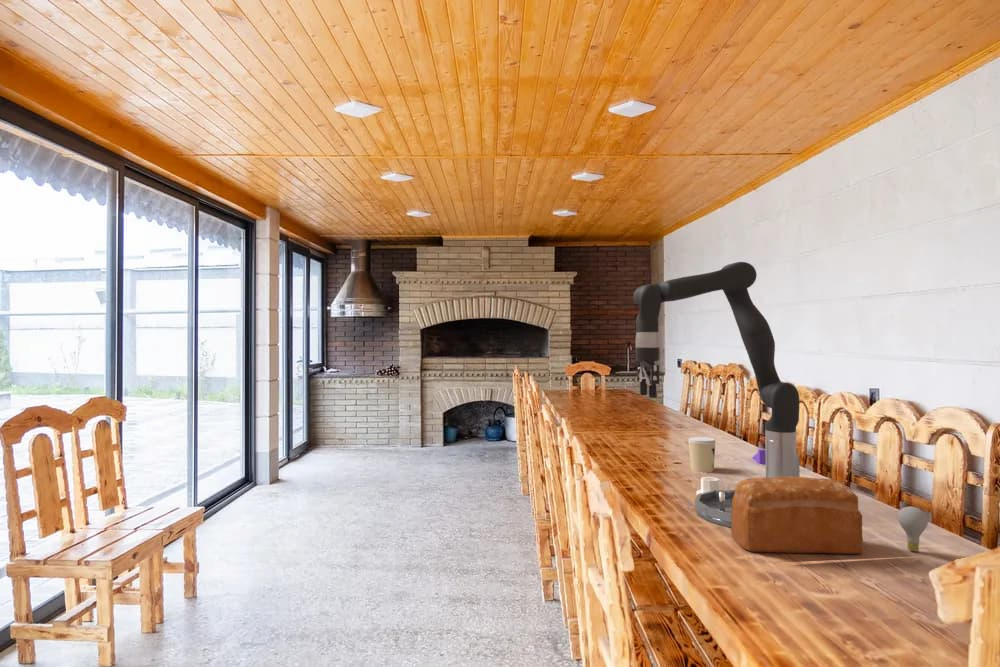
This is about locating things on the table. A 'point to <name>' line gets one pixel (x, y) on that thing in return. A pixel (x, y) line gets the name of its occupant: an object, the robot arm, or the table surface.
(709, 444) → the coffee cup
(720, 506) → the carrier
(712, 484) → the white faceted ring
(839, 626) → the table surface
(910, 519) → the light bulb
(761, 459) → the bracket
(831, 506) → the bread
